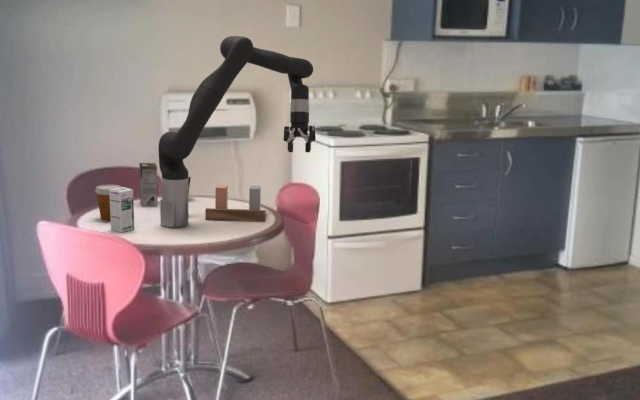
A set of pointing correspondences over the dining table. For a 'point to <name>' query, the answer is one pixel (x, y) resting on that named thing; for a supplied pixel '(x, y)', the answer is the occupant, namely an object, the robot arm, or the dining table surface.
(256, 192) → the slate plug
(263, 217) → the brown wooden flat block
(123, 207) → the syrup box
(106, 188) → the disposable coffee cup
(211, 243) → the dining table surface
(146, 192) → the coffee box
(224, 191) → the terracotta plug
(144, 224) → the dining table surface
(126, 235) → the dining table surface
